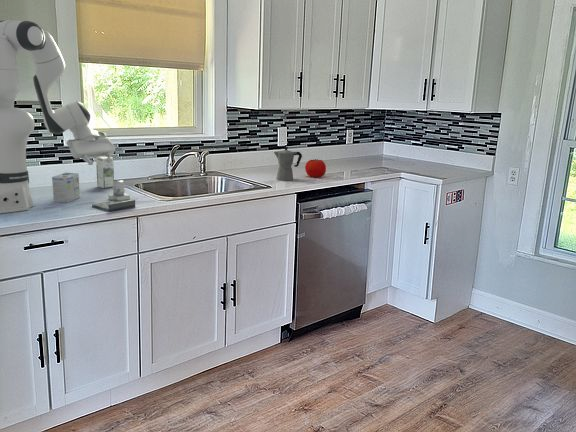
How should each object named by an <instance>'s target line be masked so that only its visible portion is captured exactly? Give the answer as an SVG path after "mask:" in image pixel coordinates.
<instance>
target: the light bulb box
mask: <svg viewBox="0 0 576 432" xmlns="http://www.w3.org/2000/svg"><path fill="white" fill-rule="evenodd" d="M51 181H52V196H53V202H54V203H67V204H68V203H70V202H72V201H74V200H78V199H79V198H80V197H81V191H80V189H81V188H80V176H79V173H78V172H77V173H76V172H63V173H59V174H57V175H55V176H52V177H51Z"/></svg>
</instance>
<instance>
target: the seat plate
mask: <svg viewBox="0 0 576 432" xmlns="http://www.w3.org/2000/svg"><path fill="white" fill-rule="evenodd" d="M92 207H93V208H96V209H99V210H103V211H106V212H108V213H109V212H110V213H112V212H117V211H122V210H127V209H132V208H136V199H133V198H132V199H129V200H123V201H120V200H108V201H104V202H99V203H93V204H92Z"/></svg>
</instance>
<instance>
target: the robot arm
mask: <svg viewBox="0 0 576 432" xmlns="http://www.w3.org/2000/svg"><path fill="white" fill-rule="evenodd" d="M26 51H27V52H28V53H29V54H30V57H31V59H32V62H33V63H34V66H35V75H34V76H33V77H32V81H33V85H34V89H35V93H36V96H37V99H38V103H39V106H40V109H41V113H42V118H43V124H44V127H45V129H46V130H48V132H49V133H51V134H53V135H60V134H62V133H65V132H66V131H68V130H69V131H70V132H71V133H72V135H73V138H74V139H68V140H67V141H66V145H67V146H68V148H69V151H70V153H71V156H72V157H73V158H74V159H75V160H78V159H82V160H83V161H84V162H86V163H87V164H88V166H92V165H93V164H94V161H93V159H90V158H96V157H102V156H106V157H107V159H106V161H107V163H111V162H112V159H111V158H110V157H112V155H114V153H115V151H116V147H115V145H114V144H113V142H112V141H111V140H110V139H109V137H107V136H108V134H107V133H106V132H104V131H99V130H95V129H93V128H92V126H91V125H90V120H91V114H90V112H89V110H88V109H87V108H86V105H85V104H84V103H83V102H81V101H78V100H76V101H73V102H70V103H67V104H65V105H63V106H61V107H58V108H56V109H53V108H52V106H51V105H52V104H51V101H50V97H49V91H50V88H51V87H52V86H53V85H54V84H55V83H56V82H57V81H58V80H59V79H60V78H61V77H62V76H63V75H64V73H65V70H66V63H65V60H64V58H63V55H62V52H61V50H60V48H59V47H58V45H57V43H56V42H55V40H54V37H53V36H52V35H51V34H50V33H49V31H47V30H45V29H43V28H42V27H41V26H40V25H39V24H38V23H36V22H33V21H30V20H18V19H9V20H8V19H7V20H0V214H5V213H6V214H7V213H14V212H23V211H28V210H30V208H33V207H34V206H35V203H34V200H33V197H32V194H31V191H30V186H29V183H30V177H29V170H28V169H27V167H28V166H27V153H26V151H27V145H28V141H29V136H30V135H31V134H32V133H33V131H34V130H35V126H36V124H35V123H36V122H35V119H34V117H33V115H32V114H31V113H30V112H28V111H26V110H24V109H22V108H19V107H15V101H16V97H17V95H18V94H19V92H20V81H19V71H18V64H17V54H18V52H26Z"/></svg>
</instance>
